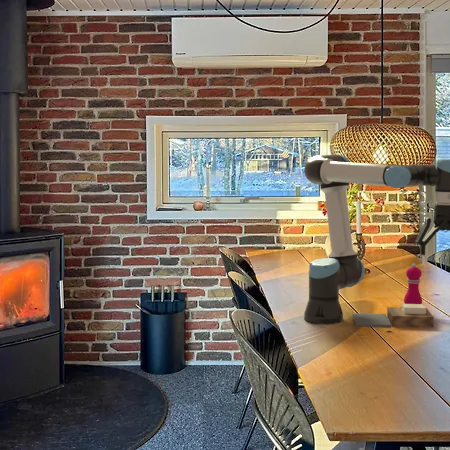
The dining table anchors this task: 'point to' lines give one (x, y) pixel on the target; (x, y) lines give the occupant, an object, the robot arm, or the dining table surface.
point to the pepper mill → (413, 286)
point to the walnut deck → (409, 318)
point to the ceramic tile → (413, 309)
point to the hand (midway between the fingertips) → (443, 263)
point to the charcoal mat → (371, 320)
